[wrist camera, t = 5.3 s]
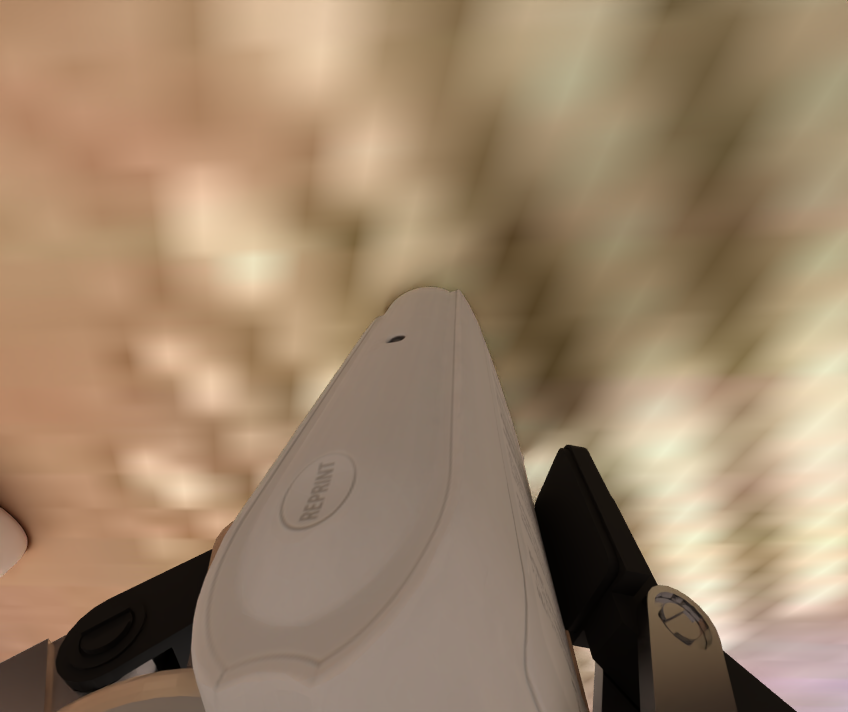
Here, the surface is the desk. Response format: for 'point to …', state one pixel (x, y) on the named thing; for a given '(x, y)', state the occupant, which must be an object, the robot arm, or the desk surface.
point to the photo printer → (391, 545)
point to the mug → (10, 542)
